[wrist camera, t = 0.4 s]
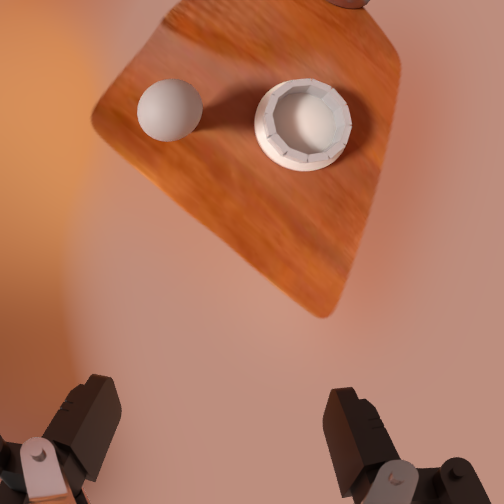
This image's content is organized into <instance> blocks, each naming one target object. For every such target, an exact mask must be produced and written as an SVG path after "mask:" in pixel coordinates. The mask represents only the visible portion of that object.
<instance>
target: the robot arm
mask: <svg viewBox="0 0 504 504" xmlns="http://www.w3.org/2000/svg"><path fill="white" fill-rule="evenodd" d="M326 1H328V2H330V3H332V4H334V5H337V6H340V7H344V8H353V9H354V8H360V7H363V6H364V5H366V4H367V3H368V2H369V1H370V0H326ZM121 412H122V410H121V404H120V401H119V398H118V394H117V391H116V388H115V385H114V381H113V379H112V378H111V377H107V376H101V375H97V374H92V375H91V376H90V377H89V379H88V380H87V382H86V383H85V385H83V384H80V385H78V386H77V387H75V388H74V389H73V390H71V391H70V393H69V394H68V396H67V397H66V399H65V402H63V404H62V405H61V407H60V410H58V411H57V413H56V415H55V416H54V418H53V419H52V421H51V423H50V424H49V426H48V427H47V429H46V431H45V432H44V434H43V436H42V437H34V438H31V439H29V440H27V441H26V442H25V443H24V444H17V443H11V442H5V441H4V439H3V438H2V437H1V435H0V478H1V479H2V481H1V483H0V504H91V503H90V501H89V499H88V496H87V494H86V492H85V489H84V487H83V482H84V480H85V479H87V480H90V481H93V482H96V479H97V476H98V474H99V471H100V468H101V466H102V463H103V461H104V458H105V456H106V453H107V451H108V448H109V445H110V443H111V441H112V438H113V436H114V433H115V431H116V428H117V426H118V424H119V421H120V418H121ZM323 431H324V434H325V438H326V441H327V444H328V448H329V452H330V456H331V459H332V463H333V466H334V470H335V473H336V477H337V481H338V484H339V488H340V492H341V495H342V498H345V497H350V496H352V497H353V500H354V504H491V502H490V500H489V498H488V496H487V494H486V492H485V490H484V488H483V486H482V484H481V482H480V480H479V478H478V476H477V474H476V472H475V470H474V468H473V467H472V465H471V464H470V463H469V462H468V461H467V460H465V459H463V458H459V457H456V458H451V459H449V460H447V461H446V462H445V463H444V464H443V465H442V466H441V467H439V468H423V469H422V468H415V467H414V465H413V464H411V463H410V462H407V461H404V460H401V459H400V457H399V455H398V453H397V451H396V449H395V447H394V445H393V443H392V440H391V438H390V436H389V434H388V432H387V430H386V428H384V424H383V422H382V420H381V419H380V416H379V414H378V412H377V410H376V408H375V407H374V406H373V405H372V404H371V403H370V402H369V401H367V400H366V399H358V397H357V394H356V392H355V390H354V389H353V388H352V387H347V388H337V389H332V390H331V392H330V395H329V398H328V402H327V405H326V408H325V412H324V415H323Z"/></svg>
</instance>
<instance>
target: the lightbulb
mask: <svg viewBox="0 0 504 504" xmlns="http://www.w3.org/2000/svg"><path fill="white" fill-rule="evenodd" d="M202 110H203V105H202V100H201V97H200V95H199V93H198V92H197V90H196V89H195V88H194V87H193V86H192V85H191V84H189V83H187V82H185V81H183V80H179V79H165V80H162V81H159V82H157V83H155V84H153V85H152V86H150V87H149V88H148V89H147V90H146V91H145V92H144V94H143V95H142V97H141V99H140V101H139V104H138V112H137V115H138V120H139V123H140V125H141V127H142V129H143V130H144V131H145V132H146V133H147V134H148V135H149V136H151V137H152V138H154V139H157V140H160V141H166V142H167V141H175V140H179V139H181V138H183V137H185V136H187V135H188V134H190V133H191V132H192V131H193V130H194V129H195V127H196V126H197V125H198V123H199V121H200V119H201V115H202Z"/></svg>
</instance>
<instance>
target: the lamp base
mask: <svg viewBox="0 0 504 504" xmlns="http://www.w3.org/2000/svg"><path fill="white" fill-rule="evenodd" d="M345 104H347V103H346V102H345V101H344V99H343V98H342V97H341V96H340V95H339V94H338V93H337V91H336V90H335V89H334V88H332V89H331V86H329V85H327V84H324V83H322V82H320V81H317V80H315V79H312V80H311V79H310V78H308V79H298V80H290V81H286V82H283V83H280V84H278V85H276V86H275V87H273V88H271V89H270V90H269V91H268V92H267V93H266V94H265V95H264V96H263V98H262V99H261V101H260V103H259V105H258V107H257V110H256V114H255V119H254V131H255V136H256V139H257V142H258V144H259V146H260V148H261V149H262V151H263V152H264V153H265V155H266V156H267V157H268V158H269V159H271V160H272V161H273V162H274V163H276V164H278V165H279V166H281V167H284V168H286V169H289V170H294V171H312V170H317V169H321V168H323V167H326V166H328V165H329V164H331V163H332V162H334V161H335V160H336V159H337V158H338V157H339V156H340V155H341V153H342V152H343V150H344V148H345V147H346V144H347V141H348V138H349V135H350V132H351V128H352V126H350V125H352V121H351V117H350V113H349V108H348V105H345Z"/></svg>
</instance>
